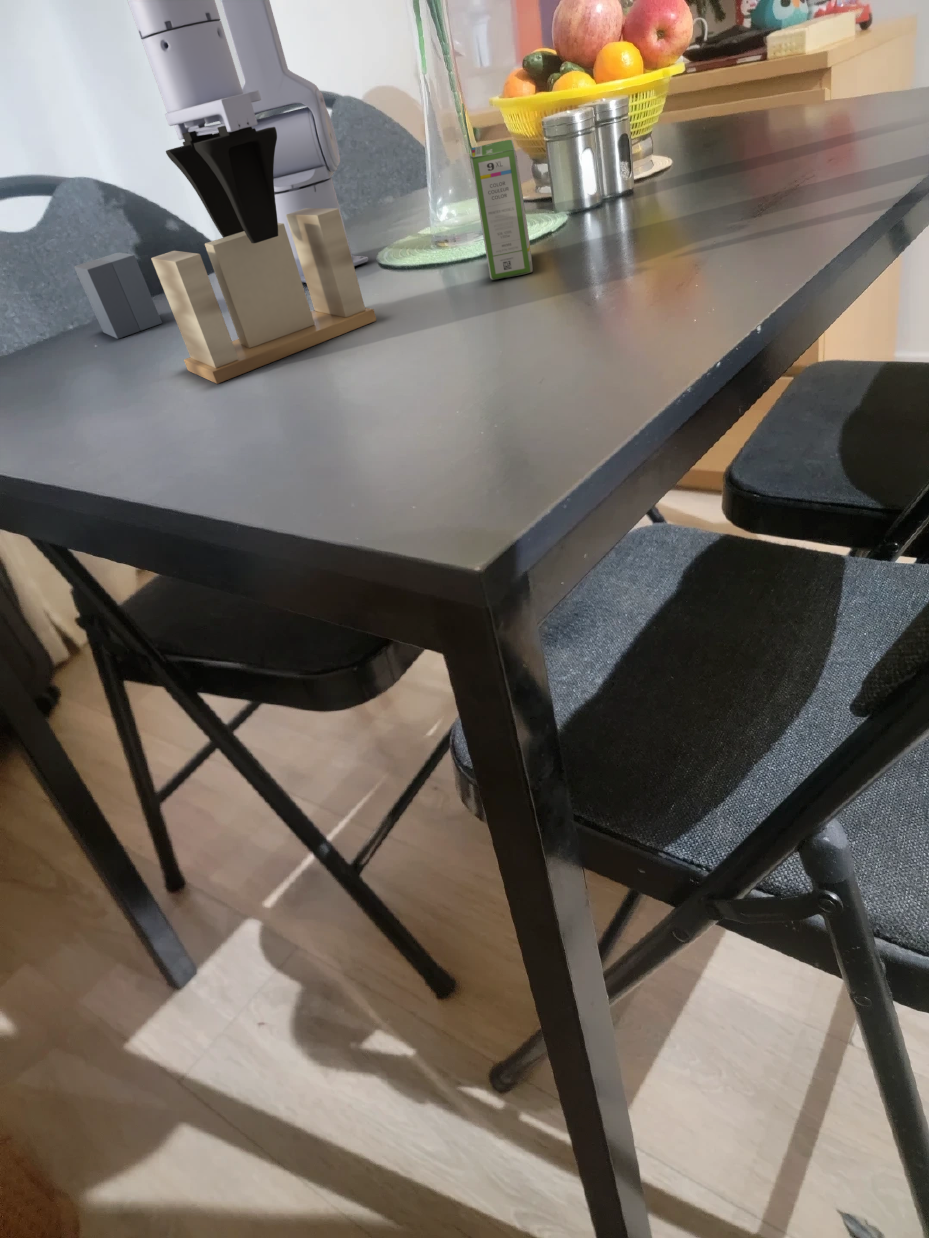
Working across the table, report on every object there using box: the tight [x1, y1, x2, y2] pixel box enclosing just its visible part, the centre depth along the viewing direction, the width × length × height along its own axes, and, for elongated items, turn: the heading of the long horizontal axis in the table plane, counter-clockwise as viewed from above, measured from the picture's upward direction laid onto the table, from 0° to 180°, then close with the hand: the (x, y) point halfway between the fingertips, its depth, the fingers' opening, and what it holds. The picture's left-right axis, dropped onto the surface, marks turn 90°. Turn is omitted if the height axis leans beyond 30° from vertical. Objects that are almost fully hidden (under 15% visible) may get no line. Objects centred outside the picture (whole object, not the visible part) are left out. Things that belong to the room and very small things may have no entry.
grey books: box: [73, 251, 163, 340], centre depth 87 cm, size 6×5×7 cm
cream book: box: [204, 223, 315, 348], centre depth 67 cm, size 6×2×8 cm, turn 121°
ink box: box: [461, 102, 534, 281], centre depth 72 cm, size 7×4×13 cm, turn 179°
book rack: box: [150, 208, 377, 385], centre depth 67 cm, size 7×15×9 cm, turn 126°
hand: (249, 237), depth 65 cm, fingers open, 7 cm apart
